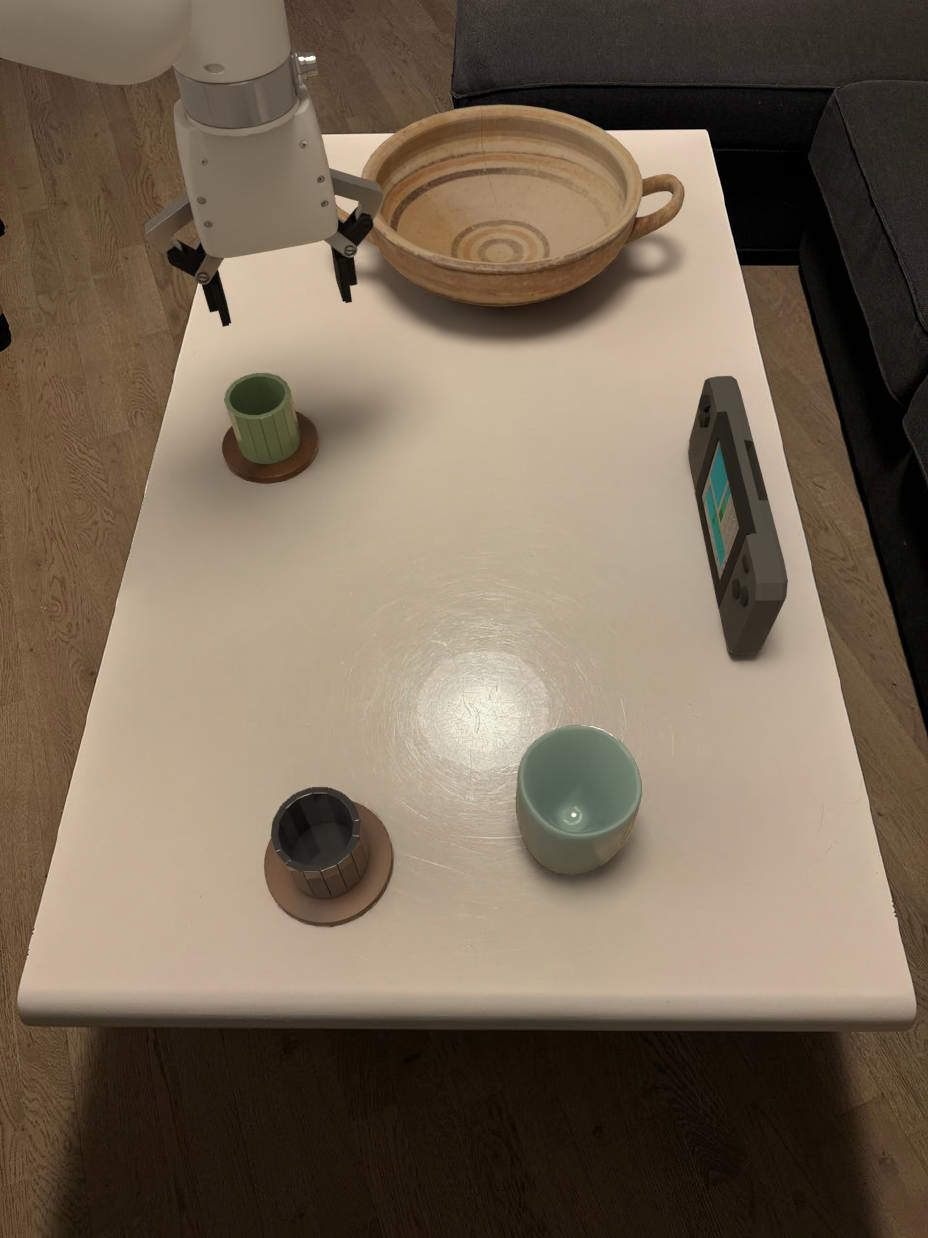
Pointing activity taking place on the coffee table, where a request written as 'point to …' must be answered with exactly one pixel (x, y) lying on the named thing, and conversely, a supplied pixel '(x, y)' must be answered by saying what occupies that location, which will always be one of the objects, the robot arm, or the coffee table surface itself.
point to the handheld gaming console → (736, 518)
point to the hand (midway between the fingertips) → (285, 303)
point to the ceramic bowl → (508, 203)
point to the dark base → (347, 904)
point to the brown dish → (275, 470)
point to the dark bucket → (320, 842)
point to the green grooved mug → (263, 417)
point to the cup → (576, 798)
